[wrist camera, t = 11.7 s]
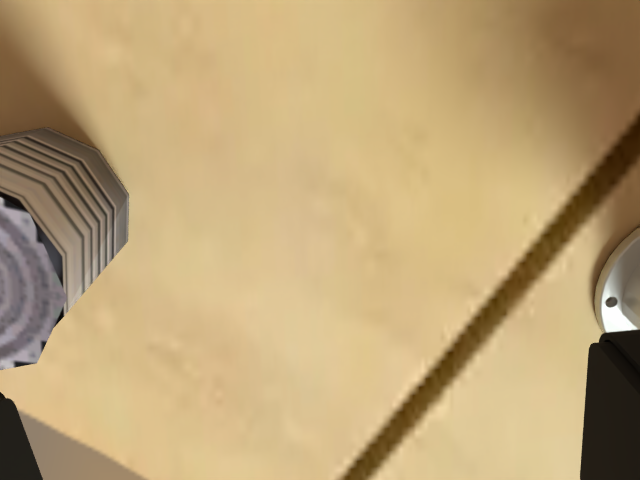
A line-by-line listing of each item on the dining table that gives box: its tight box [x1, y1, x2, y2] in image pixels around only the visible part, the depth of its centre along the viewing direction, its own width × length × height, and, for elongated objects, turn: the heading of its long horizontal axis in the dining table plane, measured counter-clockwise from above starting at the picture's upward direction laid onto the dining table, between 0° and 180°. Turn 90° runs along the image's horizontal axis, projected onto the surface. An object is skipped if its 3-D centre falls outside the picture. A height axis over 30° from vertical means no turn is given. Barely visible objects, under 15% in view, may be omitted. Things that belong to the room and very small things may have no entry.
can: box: [0, 127, 129, 370], centre depth 34 cm, size 11×11×12 cm
